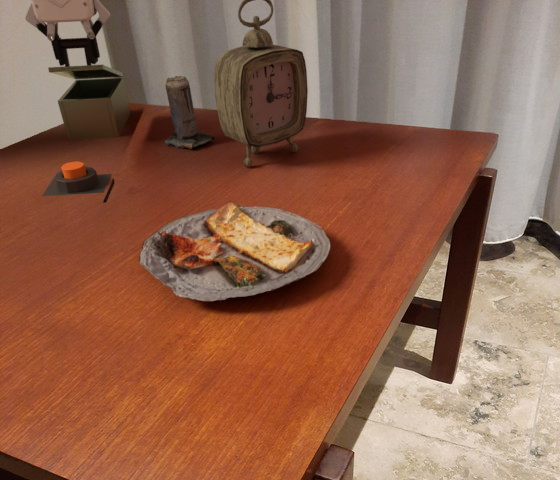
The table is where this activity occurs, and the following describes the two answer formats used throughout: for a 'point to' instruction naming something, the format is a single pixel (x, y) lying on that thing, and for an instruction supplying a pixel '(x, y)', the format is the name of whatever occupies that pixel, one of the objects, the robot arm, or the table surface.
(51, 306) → the table surface
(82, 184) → the panel
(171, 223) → the food plate
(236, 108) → the tabletop clock
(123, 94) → the machine
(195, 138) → the beverage can
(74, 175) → the button
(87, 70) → the lid
